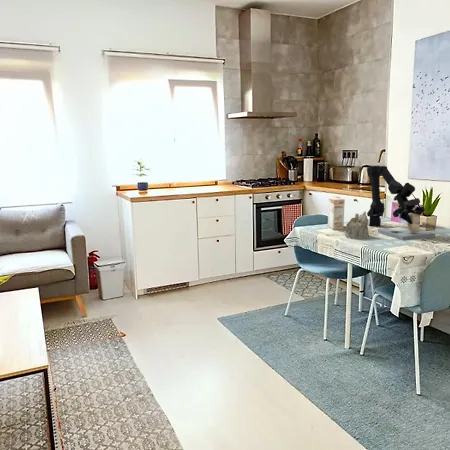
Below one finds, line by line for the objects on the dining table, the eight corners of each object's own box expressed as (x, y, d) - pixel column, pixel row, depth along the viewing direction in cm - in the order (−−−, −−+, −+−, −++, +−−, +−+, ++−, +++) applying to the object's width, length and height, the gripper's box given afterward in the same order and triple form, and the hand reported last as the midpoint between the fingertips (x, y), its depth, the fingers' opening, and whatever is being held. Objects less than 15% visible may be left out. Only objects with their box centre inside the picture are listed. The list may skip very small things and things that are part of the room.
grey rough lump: (354, 231, 263) (355, 207, 259) (374, 237, 248) (375, 212, 245) (335, 235, 256) (335, 211, 252) (354, 242, 242) (354, 216, 238)
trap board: (377, 232, 259) (378, 229, 259) (408, 229, 265) (408, 226, 265) (402, 239, 238) (402, 236, 238) (435, 236, 245) (435, 233, 244)
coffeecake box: (343, 229, 269) (345, 199, 265) (332, 229, 269) (333, 199, 265) (338, 225, 283) (339, 196, 280) (327, 225, 283) (328, 196, 280)
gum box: (388, 220, 297) (389, 201, 295) (398, 219, 299) (399, 200, 297) (413, 226, 275) (414, 205, 272) (423, 225, 277) (424, 205, 274)
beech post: (407, 231, 247) (408, 214, 245) (413, 230, 248) (414, 213, 246) (412, 232, 243) (413, 215, 241) (419, 232, 244) (420, 215, 242)
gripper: (397, 194, 242) (409, 216, 234) (424, 192, 248) (436, 214, 239) (387, 206, 251) (398, 227, 243) (413, 204, 257) (425, 225, 248)
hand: (415, 223), depth 243 cm, fingers closed on beech post, 4 cm apart
